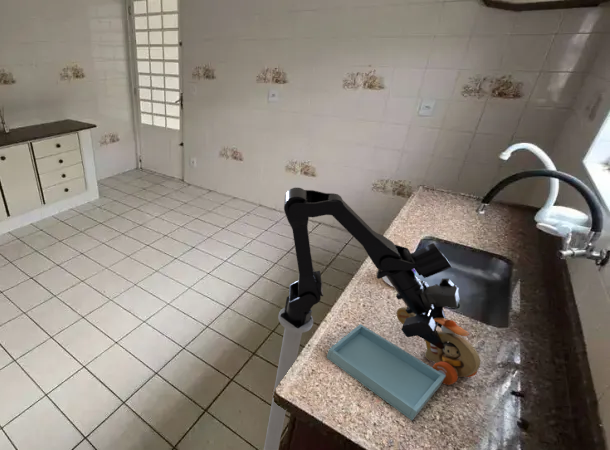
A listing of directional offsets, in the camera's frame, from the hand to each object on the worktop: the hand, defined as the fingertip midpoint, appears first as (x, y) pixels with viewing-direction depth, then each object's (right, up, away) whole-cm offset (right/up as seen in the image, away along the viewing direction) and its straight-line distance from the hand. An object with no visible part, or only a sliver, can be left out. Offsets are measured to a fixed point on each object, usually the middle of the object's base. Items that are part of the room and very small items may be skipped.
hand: (445, 339), depth 85 cm
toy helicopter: (-1, -6, +4) cm, 7 cm away
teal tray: (-15, -8, 0) cm, 17 cm away
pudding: (+9, +9, +31) cm, 33 cm away
